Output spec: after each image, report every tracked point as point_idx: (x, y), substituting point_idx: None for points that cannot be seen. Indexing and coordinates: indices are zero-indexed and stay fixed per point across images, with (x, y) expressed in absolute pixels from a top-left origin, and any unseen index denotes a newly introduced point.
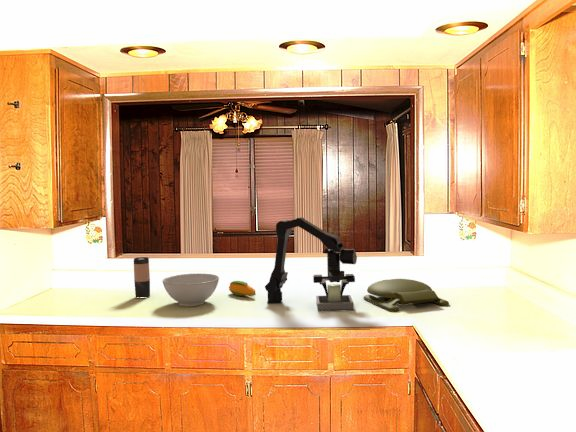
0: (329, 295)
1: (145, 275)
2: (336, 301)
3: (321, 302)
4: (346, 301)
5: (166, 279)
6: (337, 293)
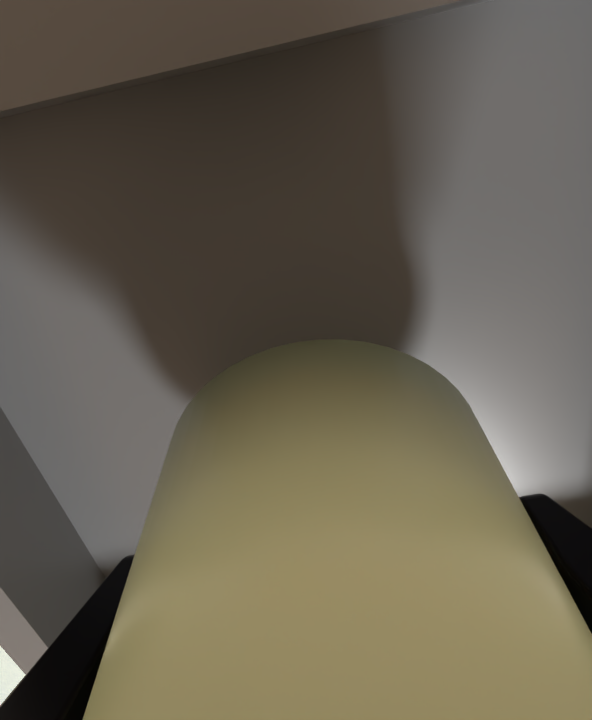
0: (491, 486)
1: None
2: (246, 362)
3: None
4: None
5: None
6: (178, 562)
